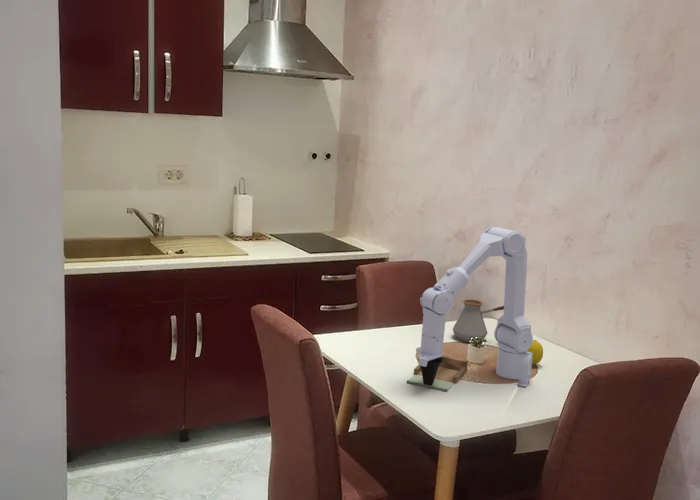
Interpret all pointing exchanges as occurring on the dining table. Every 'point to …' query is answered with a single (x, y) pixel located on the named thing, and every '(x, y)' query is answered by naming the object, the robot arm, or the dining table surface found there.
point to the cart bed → (448, 369)
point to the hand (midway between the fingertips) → (428, 384)
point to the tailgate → (436, 385)
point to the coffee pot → (472, 321)
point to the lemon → (536, 352)
